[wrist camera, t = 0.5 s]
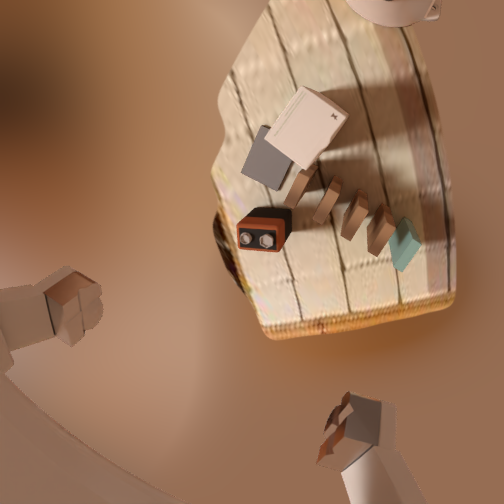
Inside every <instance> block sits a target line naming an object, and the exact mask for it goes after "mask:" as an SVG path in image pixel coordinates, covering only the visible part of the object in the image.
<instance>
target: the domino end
mask: <svg viewBox="0 0 504 504" xmlns="http://www.w3.org/2000/svg"><path fill="white" fill-rule="evenodd" d="M389 245H390V250H391V256H392V261H393V267H394V268H396V269H398V270H399V271H401V272H403V270H404V269H405V268H406V266H407V265H408V263H409V262H410V261H411V259H412V258H413V256H414V255H415V254H416V252H417V251H418V249H419V248H420V246H421V245H422V244H421V242H420V239H419V237H418V235H417V233H416V230H415V228H414V226H413V224H412V222H411V221H410V220H408V219H407V218H405V217H404V218H403V219H402V221H401V222H400V224H399V225H398V227H397V229H396V230H395V232H394V233H393V235H392V236H391V238H390V239H389Z"/></svg>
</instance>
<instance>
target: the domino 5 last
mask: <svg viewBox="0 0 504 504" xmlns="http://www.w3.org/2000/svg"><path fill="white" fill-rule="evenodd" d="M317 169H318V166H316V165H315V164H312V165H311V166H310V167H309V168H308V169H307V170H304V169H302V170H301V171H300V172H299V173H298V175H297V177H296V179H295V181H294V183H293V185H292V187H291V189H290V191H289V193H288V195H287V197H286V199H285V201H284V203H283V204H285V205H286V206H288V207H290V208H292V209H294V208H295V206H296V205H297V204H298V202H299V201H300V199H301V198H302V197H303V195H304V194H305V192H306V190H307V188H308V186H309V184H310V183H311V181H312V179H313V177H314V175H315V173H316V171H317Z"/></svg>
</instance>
